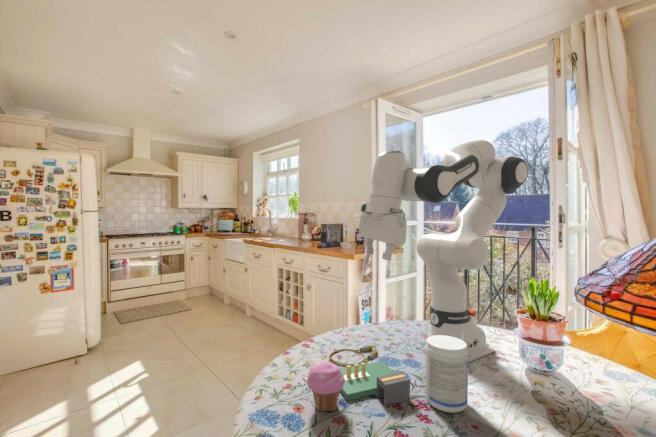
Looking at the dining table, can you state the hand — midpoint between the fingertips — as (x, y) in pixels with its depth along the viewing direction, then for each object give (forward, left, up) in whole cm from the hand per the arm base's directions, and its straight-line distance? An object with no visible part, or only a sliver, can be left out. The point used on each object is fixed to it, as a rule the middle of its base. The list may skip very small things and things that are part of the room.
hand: (377, 256), depth 89 cm
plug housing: (+2, +12, -33) cm, 35 cm away
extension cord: (+1, -11, -34) cm, 36 cm away
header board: (+5, +3, -33) cm, 34 cm away
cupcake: (+19, +9, -33) cm, 39 cm away
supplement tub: (-9, +18, -33) cm, 39 cm away
